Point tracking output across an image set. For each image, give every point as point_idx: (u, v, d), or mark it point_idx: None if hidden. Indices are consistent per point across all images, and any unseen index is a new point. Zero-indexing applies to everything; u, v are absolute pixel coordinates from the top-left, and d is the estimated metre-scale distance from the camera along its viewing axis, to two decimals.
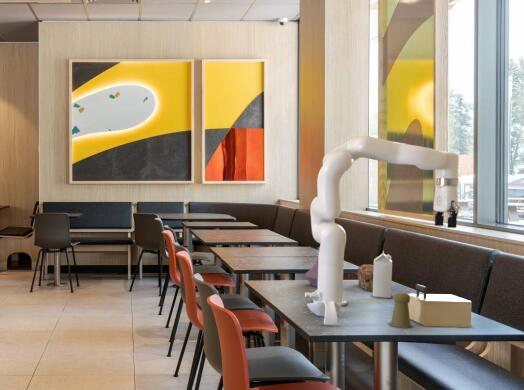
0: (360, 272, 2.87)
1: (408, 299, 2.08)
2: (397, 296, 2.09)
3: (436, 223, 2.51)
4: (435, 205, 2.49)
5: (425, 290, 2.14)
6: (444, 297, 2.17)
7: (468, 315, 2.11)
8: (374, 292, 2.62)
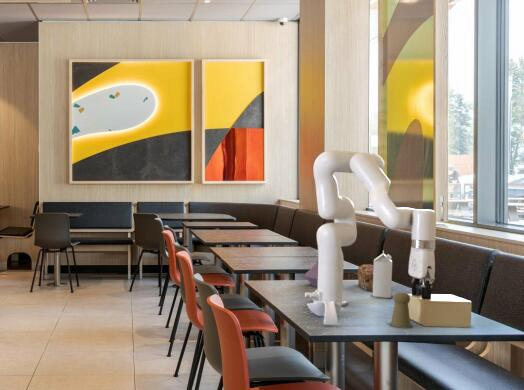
0: (360, 272, 2.87)
1: (408, 299, 2.08)
2: (397, 296, 2.09)
3: (413, 292, 2.20)
4: (410, 269, 2.19)
5: None
6: (444, 297, 2.17)
7: (468, 315, 2.11)
8: (374, 292, 2.62)
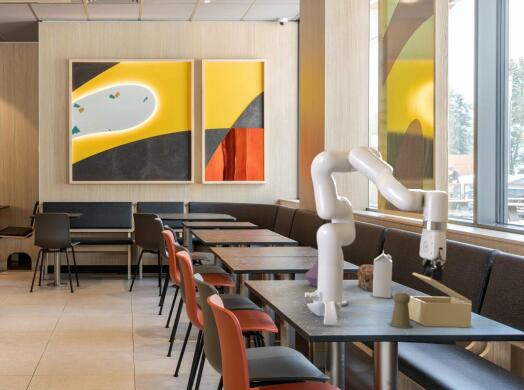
0: (360, 272, 2.87)
1: (408, 299, 2.08)
2: (397, 296, 2.09)
3: None
4: (421, 251, 2.19)
5: None
6: None
7: (468, 315, 2.11)
8: (374, 292, 2.62)
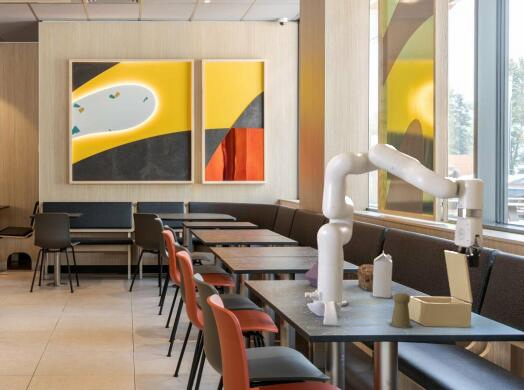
0: (360, 272, 2.87)
1: (408, 299, 2.08)
2: (397, 296, 2.09)
3: None
4: (456, 239, 2.19)
5: None
6: None
7: (468, 315, 2.11)
8: (374, 292, 2.62)
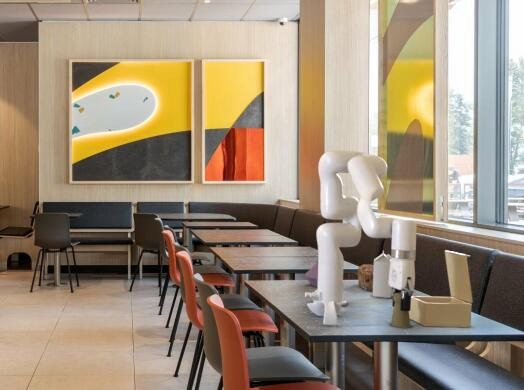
0: (360, 272, 2.87)
1: None
2: (398, 296, 2.09)
3: (394, 304, 2.13)
4: (390, 280, 2.13)
5: (470, 258, 2.14)
6: None
7: (468, 315, 2.11)
8: (374, 292, 2.62)
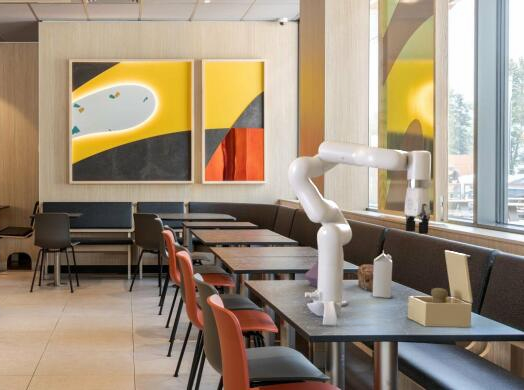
0: (360, 272, 2.87)
1: (446, 294, 2.15)
2: (436, 291, 2.15)
3: (407, 228, 2.31)
4: (406, 209, 2.29)
5: (470, 258, 2.14)
6: None
7: (468, 315, 2.11)
8: (374, 292, 2.62)
